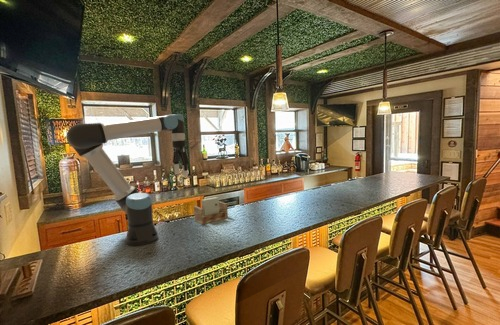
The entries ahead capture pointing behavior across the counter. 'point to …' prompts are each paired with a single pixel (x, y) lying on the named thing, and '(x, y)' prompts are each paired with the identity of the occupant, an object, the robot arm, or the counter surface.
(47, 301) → the counter surface
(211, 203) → the door panel
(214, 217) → the track
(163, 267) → the counter surface
